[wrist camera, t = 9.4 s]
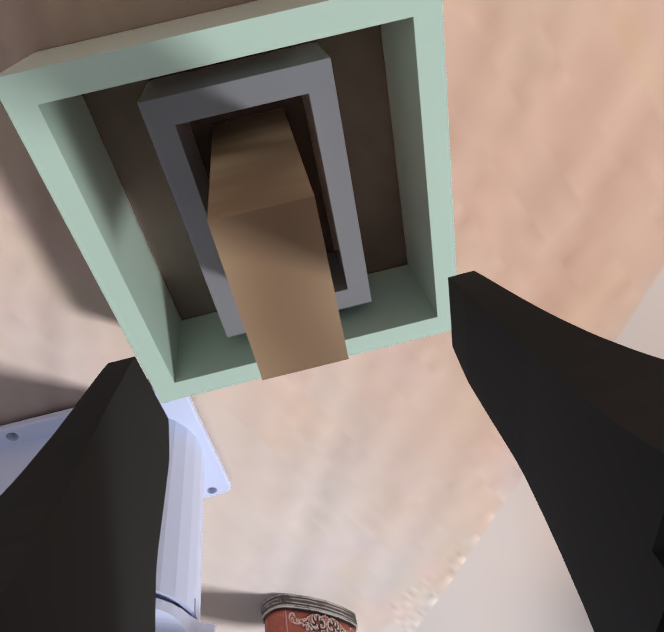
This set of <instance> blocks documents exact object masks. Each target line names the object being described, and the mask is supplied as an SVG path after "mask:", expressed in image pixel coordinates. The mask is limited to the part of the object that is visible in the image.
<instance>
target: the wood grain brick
mask: <svg viewBox="0 0 664 632" xmlns="http://www.w3.org/2000/svg"><path fill="white" fill-rule="evenodd" d="M207 222H208V225H209V228H210V231H211V234H212V237H213V240H214V242H215V245H216V248H217V251H218V254H219V257H220V260H221V263H222V265H223V268H224V271H225V274H226V277H227V280H228V283H229V285H230V288H231V291H232V294H233V297H234V300H235V303H236V306H237V308H238V311H239V314H240V317H241V320H242V323H243V326H244V329H245V331H246V334H247V337H248V340H249V343H250V346H251V349H252V351H253V354H254V357H255V360H256V363H257V366H258V369H259V372H260V374H261V377H262V380H265V379H269V378H273V377H277V376H281V375H285V374H289V373H293V372H297V371H302V370H306V369H310V368H314V367H318V366H322V365H326V364H330V363H334V362H338V361H342V360H346V359H349V358H348V353H347V348H346V344H345V339H344V334H343V329H342V325H341V320H340V315H339V310H338V306H337V301H336V296H335V291H334V287H333V282H332V277H331V272H330V267H329V263H328V258H327V253H326V248H325V244H324V239H323V234H322V229H321V225H320V220H319V215H318V210H317V206H316V201H315V196H314V193H313V190H312V188H311V185H310V182H309V179H308V176H307V173H306V171H305V168H304V165H303V162H302V159H301V157H300V154H299V151H298V148H297V145H296V142H295V140H294V137H293V134H292V131H291V128H290V125H289V123H288V120H287V117H286V114H285V111H284V108H283V107H282V108H278V109H274V110H269V111H265V112H261V113H256V114H252V115H248V116H243V117H239V118H235V119H230V120H226V121H222V122H217V123H213V131H212V148H211V165H210V182H209V199H208V216H207Z"/></svg>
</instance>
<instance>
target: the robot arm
mask: <svg viewBox="0 0 664 632" xmlns="http://www.w3.org/2000/svg"><path fill="white" fill-rule="evenodd" d="M448 287H449V301H450V316H451V331H452V345H453V348H454V351H455V353H456V355H457V358H458V360H459V362H460V365H461V367H462V369H463V371H464V374H465V376H466V378H467V380H468V382H469V384H470V386H471V387H472V389H473V391H474V392H475V394H476V396H477V397H478V399H479V401H480V402H481V404H482V406H483V407H484V409H485V411H486V412H487V414H488V415H489V417H490V419H491V420H492V422H493V423H494V425H495V427H496V428H497V430H498V432H499V433H500V435H501V436H502V438H503V440H504V441H505V443H506V445H507V446H508V448H509V449H510V451H511V453H512V454H513V456H514V458H515V459H516V461H517V463H518V465H519V467H520V468H521V470H522V472H523V474H524V476H525V478H526V480H527V482H528V484H529V486H530V488H531V490H532V492H533V494H534V496H535V498H536V501H537V502H538V505H539V507H540V509H541V511H542V513H543V515H544V517H545V519H546V522H547V524H548V526H549V528H550V531H551V533H552V535H553V537H554V539H555V541H556V544H557V546H558V548H559V550H560V552H561V554H562V557H563V559H564V561H565V564H566V566H567V568H568V571H569V573H570V575H571V578H572V580H573V582H574V585H575V587H576V589H577V591H578V594H579V596H580V598H581V601H582V603H583V605H584V608H585V610H586V612H587V615H588V618H589V620H590V622H591V625H592V627H593V630H594V632H664V360H663V359H660V358H657V357H653V356H651V355H647V354H645V353H642V352H638V351H636V350H633V349H630V348H627V347H625V346H622V345H620V344H617V343H615V342H612V341H609V340H607V339H604V338H602V337H599V336H597V335H594V334H592V333H590V332H587V331H585V330H583V329H581V328H579V327H577V326H575V325H572V324H570V323H568V322H566V321H564V320H562V319H560V318H558V317H556V316H554V315H552V314H550V313H548V312H546V311H544V310H542V309H540V308H538V307H537V306H535V305H533V304H531V303H529V302H527V301H526V300H524V299H522V298H520V297H519V296H517V295H515V294H513V293H512V292H510V291H508V290H506V289H505V288H503V287H501V286H500V285H498V284H496V283H494V282H493V281H491V280H489V279H488V278H486V277H484V276H482V275H481V274H479V273H477V272H475V271H471V272H467V273H463V274H460V275H456V276H452V277H448ZM12 433H16V434H12ZM230 488H231V482H230V479H229V477H228V475H227V473H226V470H225V468H224V466H223V464H222V462H221V460H220V458H219V456H218V454H217V452H216V450H215V448H214V445H213V443H212V441H211V439H210V437H209V435H208V433H207V431H206V429H205V427H204V425H203V422H202V420H201V418H200V416H199V414H198V412H197V410H196V408H195V406H194V404H193V402H192V400H191V397H190V396H189V397H185V398H181V399H177V400H173V401H169V402H165V403H161V402H160V400H159V398H158V396H157V394H156V393H155V391H154V389H153V388H152V387H151V385H150V384H149V382H148V380H147V378H146V376H145V374H144V372H143V371H142V369H141V367H140V365H139V363H138V361H137V359H136V358H135V357H131V358H127V359H123V360H119V361H115V362H111V363H108V364H107V365H106V367H105V368H104V369H103V370H102V371H101V373H100V374H99V375H98V376H97V378H96V379H95V380H94V382H93V383H92V384H91V386H90V387H89V388H88V390H87V391H86V392H85V394H84V395H83V396H82V398H81V399H80V400H79V402H78V403H77V404H76V406H75V407H74V408H70V409H66V410H62V411H58V412H54V413H50V414H46V415H42V416H38V417H34V418H30V419H26V420H22V421H18V422H14V423H10V424H6V425H2V426H0V632H216V625H215V624H212V623H206V622H202V621H200V607H201V577H202V547H203V518H204V498H207V497H211V496H214V495H218V494H222V493H225V492H227V491H229V490H230Z"/></svg>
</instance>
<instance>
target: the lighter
mask: <svg viewBox="0 0 664 632" xmlns="http://www.w3.org/2000/svg"><path fill="white" fill-rule="evenodd" d="M261 613H262V622H263V623H264V624H265V632H356V631H357V629H358V627H357V622H356V617H355V614H354V613H353V612H351V611H349V610H347V609H345V608H343V607H341V606H339V605H336V604H333V603H331V602H328V601H325V600H320V599H316V598H312V597H307V596H300V595H293V594H278V595H275V596H272V597H270V598H268V599H267V600H265V601H264V602H263V603H262V606H261Z"/></svg>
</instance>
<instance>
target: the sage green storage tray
mask: <svg viewBox="0 0 664 632" xmlns="http://www.w3.org/2000/svg"><path fill="white" fill-rule="evenodd" d="M376 25H380V26H381V34H382V43H383V52H384V61H385V69H386V78H387V87H388V96H389V104H390V113H391V122H392V131H393V139H394V148H395V157H396V166H397V174H398V183H399V192H400V201H401V210H402V218H403V227H404V236H405V245H406V253H407V262H408V264H407V265H403V266H399V267H395V268H391V269H387V270H383V271H379V272H375V273H371V274H367V270H366V264H365V258H364V252H363V246H362V240H361V235H360V229H359V223H358V217H357V211H356V205H355V199H354V193H353V187H352V181H351V175H350V169H349V164H348V158H347V152H346V146H345V140H344V134H343V128H342V122H341V116H340V110H339V104H338V98H337V93H336V87H335V81H334V75H333V69H332V63H331V58H330V56H329V55H328V54H327V53H326V52H325V51H324V50H323V49H322V48H321V47H320V46H319V44H318V43H317V42H312V43H307V44H303V45H299V46H294V47H290V48H286V49H282V50H277V51H273V52H269V53H265V54H260V55H256V56H252V57H248V58H243V59H239V60H235V61H230V62H226V63H222V64H218V65H213V66H209V67H205V68H201V69H196V70H192V71H188V72H184V73H179V74H175V75H171V76H166V77H162V78H158V79H154V80H149V82H148V83H147V85H146V87H145V89H144V91H143V93H142V95H141V97H140V99H139V101H138V103H137V104H138V107H139V109H140V112H141V115H142V117H143V120H144V122H145V125H146V128H147V130H148V133H149V135H150V138H151V141H152V143H153V146H154V148H155V151H156V154H157V156H158V159H159V161H160V164H161V167H162V169H163V172H164V174H165V177H166V180H167V182H168V185H169V187H170V190H171V193H172V195H173V198H174V200H175V203H176V206H177V208H178V211H179V213H180V216H181V218H182V221H183V224H184V226H185V229H186V231H187V234H188V237H189V239H190V242H191V244H192V247H193V250H194V252H195V255H196V257H197V260H198V263H199V265H200V268H201V270H202V273H203V276H204V278H205V281H206V283H207V286H208V289H209V291H210V294H211V296H212V299H213V302H214V304H215V307H216V309H217V312H213V313H209V314H205V315H201V316H197V317H193V318H189V319H185V320H181V318H180V316H179V314H178V311H177V309H176V307H175V305H174V302H173V300H172V298H171V296H170V293H169V291H168V289H167V287H166V284H165V282H164V280H163V277H162V275H161V273H160V271H159V268H158V266H157V264H156V262H155V259H154V257H153V255H152V252H151V250H150V248H149V246H148V243H147V241H146V239H145V237H144V234H143V232H142V230H141V227H140V225H139V223H138V221H137V218H136V216H135V214H134V212H133V209H132V207H131V205H130V202H129V200H128V198H127V196H126V193H125V191H124V189H123V187H122V184H121V182H120V180H119V178H118V175H117V173H116V171H115V168H114V166H113V164H112V162H111V159H110V157H109V155H108V153H107V150H106V148H105V146H104V143H103V141H102V139H101V137H100V134H99V132H98V130H97V128H96V125H95V123H94V121H93V118H92V116H91V114H90V112H89V109H88V107H87V105H86V103H85V100H84V98H83V96H82V94H86V93H90V92H94V91H99V90H103V89H107V88H111V87H116V86H120V85H124V84H128V83H133V82H137V81H141V80H145V79H150V78H154V77H158V76H163V75H167V74H171V73H175V72H180V71H184V70H188V69H192V68H197V67H201V66H205V65H209V64H214V63H218V62H222V61H227V60H231V59H235V58H239V57H244V56H248V55H252V54H256V53H261V52H265V51H269V50H274V49H278V48H282V47H286V46H291V45H295V44H299V43H303V42H308V41H312V40H316V39H320V38H325V37H329V36H333V35H338V34H342V33H346V32H350V31H355V30H359V29H363V28H367V27H372V26H376ZM300 95H302V97H303V102H304V107H305V112H306V116H307V121H308V126H309V131H310V136H311V141H312V146H313V150H314V155H315V160H316V165H317V170H318V175H319V180H320V184H321V189H322V194H323V199H324V204H325V209H326V213H327V218H328V223H329V228H330V233H331V238H332V243H333V247H334V251H333V252H329V253H327V258H328V263H329V267H330V272H331V277H332V282H333V287H334V291H335V296H336V301H337V306H338V310H339V315H340V320H341V325H342V329H343V334H344V339H345V344H346V348H347V353H348V356H352V355H356V354H360V353H364V352H368V351H372V350H376V349H379V348H383V347H387V346H391V345H395V344H399V343H403V342H407V341H411V340H415V339H419V338H423V337H427V336H431V335H435V334H439V333H443V332H447V331H451V316H450V301H449V287H448V277H452V276H456V255H455V236H454V216H453V197H452V178H451V158H450V139H449V119H448V100H447V80H446V61H445V42H444V22H443V3H442V0H257V1H253V2H249V3H244V4H240V5H236V6H232V7H227V8H223V9H219V10H214V11H210V12H206V13H201V14H197V15H193V16H188V17H184V18H180V19H175V20H171V21H167V22H162V23H158V24H154V25H149V26H145V27H141V28H136V29H132V30H128V31H124V32H119V33H115V34H111V35H106V36H102V37H98V38H93V39H89V40H85V41H80V42H76V43H72V44H67V45H63V46H59V47H54V48H50V49H46V50H41V51H37V52H34V53H33V54H31V55H29V56H28V57H26V58H24V59H22V60H21V61H19V62H17V63H16V64H14V65H12V66H11V67H9V68H7V69H6V70H4V71H2V72H1V73H0V100H1V102H2V104H3V106H4V108H5V110H6V112H7V114H8V115H9V117H10V119H11V121H12V123H13V125H14V127H15V129H16V130H17V132H18V134H19V136H20V138H21V140H22V142H23V144H24V146H25V147H26V149H27V151H28V153H29V155H30V157H31V159H32V161H33V163H34V164H35V166H36V168H37V170H38V172H39V174H40V176H41V178H42V179H43V181H44V183H45V185H46V187H47V189H48V191H49V193H50V195H51V196H52V198H53V200H54V202H55V204H56V206H57V208H58V210H59V212H60V213H61V215H62V217H63V219H64V221H65V223H66V225H67V227H68V229H69V230H70V232H71V234H72V236H73V238H74V240H75V242H76V244H77V245H78V247H79V249H80V251H81V253H82V255H83V257H84V259H85V261H86V262H87V264H88V266H89V268H90V270H91V272H92V274H93V276H94V278H95V279H96V281H97V283H98V285H99V287H100V289H101V291H102V293H103V294H104V296H105V298H106V300H107V302H108V304H109V306H110V308H111V310H112V311H113V313H114V315H115V317H116V319H117V321H118V323H119V325H120V327H121V328H122V330H123V332H124V334H125V336H126V338H127V340H128V342H129V344H130V345H131V347H132V349H133V351H134V353H135V355H136V357H137V359H138V360H139V362H140V364H141V366H142V368H143V370H144V372H145V374H146V376H147V377H148V379H149V381H150V383H151V385H152V387H153V389H154V391H155V393H156V394H157V396H158V398H159V400H160V402H161V403H165V402H169V401H173V400H177V399H181V398H185V397H189V396H193V395H197V394H201V393H204V392H208V391H212V390H216V389H220V388H224V387H228V386H232V385H236V384H240V383H244V382H248V381H252V380H256V379H260V378H262V377H261V374H260V372H259V369H258V366H257V363H256V360H255V357H254V354H253V351H252V349H251V346H250V343H249V340H248V337H247V334H246V331H245V329H244V326H243V323H242V320H241V317H240V314H239V311H238V308H237V306H236V303H235V300H234V297H233V294H232V291H231V288H230V285H229V283H228V280H227V277H226V274H225V271H224V268H223V265H222V263H221V260H220V257H219V254H218V251H217V248H216V245H215V242H214V240H213V237H212V234H211V231H210V228H209V225H208V222H207V216H208V199H209V180H208V177H207V174H206V171H205V169H204V166H203V163H202V160H201V157H200V154H199V151H198V148H197V145H196V142H195V139H194V136H193V133H192V130H191V127H190V124H189V122H190V121H194V120H199V119H203V118H207V117H211V116H216V115H220V114H224V113H228V112H232V111H237V110H241V109H245V108H249V107H253V106H258V105H262V104H266V103H270V102H275V101H279V100H283V99H287V98H291V97H296V96H300Z"/></svg>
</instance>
